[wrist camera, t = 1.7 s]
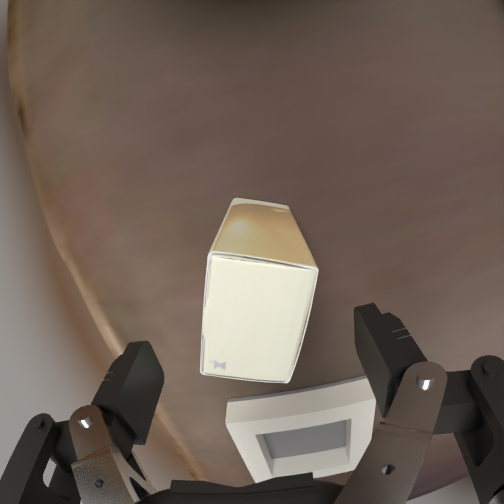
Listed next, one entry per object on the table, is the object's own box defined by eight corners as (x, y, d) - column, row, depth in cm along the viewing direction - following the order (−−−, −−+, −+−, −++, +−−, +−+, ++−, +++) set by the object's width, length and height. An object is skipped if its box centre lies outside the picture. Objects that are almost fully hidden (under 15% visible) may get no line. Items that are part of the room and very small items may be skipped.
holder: (367, 374, 29) (376, 397, 25) (361, 447, 34) (366, 466, 31) (227, 398, 30) (225, 423, 27) (256, 465, 36) (256, 485, 32)
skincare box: (276, 278, 25) (290, 390, 13) (223, 271, 25) (197, 380, 13) (290, 200, 22) (325, 268, 11) (232, 192, 22) (206, 252, 11)
